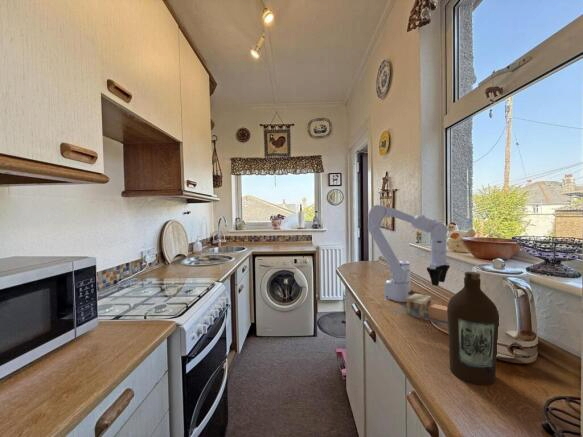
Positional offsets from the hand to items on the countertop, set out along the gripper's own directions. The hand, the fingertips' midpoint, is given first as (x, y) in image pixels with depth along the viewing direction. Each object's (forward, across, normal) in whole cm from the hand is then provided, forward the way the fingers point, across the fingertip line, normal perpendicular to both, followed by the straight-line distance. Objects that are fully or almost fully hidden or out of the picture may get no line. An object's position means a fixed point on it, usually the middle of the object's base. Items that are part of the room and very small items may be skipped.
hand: (438, 283), depth 115 cm
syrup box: (+10, +12, +20) cm, 25 cm away
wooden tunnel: (+8, -17, +1) cm, 19 cm away
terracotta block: (+8, -17, -8) cm, 21 cm away
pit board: (+9, -17, -1) cm, 19 cm away
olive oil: (+10, -46, -22) cm, 52 cm away
